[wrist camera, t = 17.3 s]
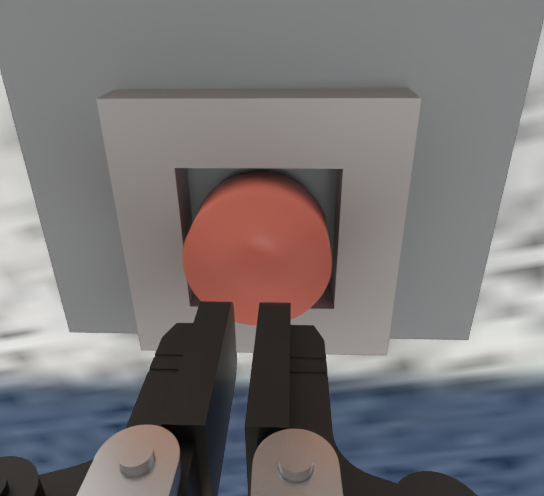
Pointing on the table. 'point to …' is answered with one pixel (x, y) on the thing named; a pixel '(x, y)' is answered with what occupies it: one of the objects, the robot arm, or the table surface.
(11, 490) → the robot arm
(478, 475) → the table surface
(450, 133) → the board
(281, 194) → the button
